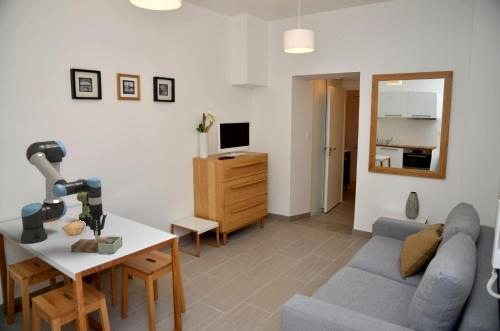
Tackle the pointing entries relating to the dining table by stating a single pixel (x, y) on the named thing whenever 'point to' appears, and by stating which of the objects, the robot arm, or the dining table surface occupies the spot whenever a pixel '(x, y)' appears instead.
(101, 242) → the peach square block
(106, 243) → the grey square block
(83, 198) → the cordless drill
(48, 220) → the robot arm
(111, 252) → the tray
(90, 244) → the walnut board
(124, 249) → the dining table surface
